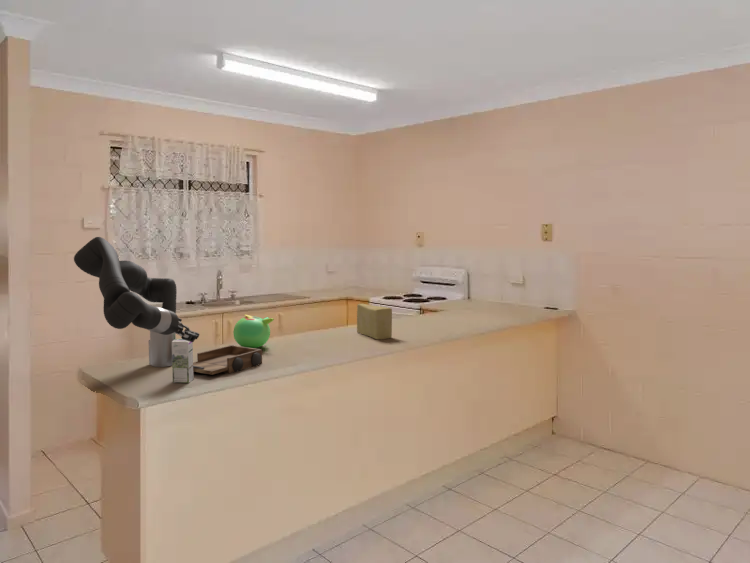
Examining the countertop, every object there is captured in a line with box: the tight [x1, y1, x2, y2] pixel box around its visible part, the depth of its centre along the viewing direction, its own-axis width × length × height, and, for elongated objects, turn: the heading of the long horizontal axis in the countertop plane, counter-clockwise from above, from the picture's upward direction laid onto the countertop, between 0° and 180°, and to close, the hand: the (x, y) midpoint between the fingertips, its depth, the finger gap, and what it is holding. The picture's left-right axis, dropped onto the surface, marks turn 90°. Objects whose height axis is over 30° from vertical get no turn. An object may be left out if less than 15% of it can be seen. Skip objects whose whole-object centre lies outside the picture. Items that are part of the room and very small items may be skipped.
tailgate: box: [193, 361, 228, 376], centre depth 209 cm, size 16×8×2 cm, turn 60°
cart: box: [196, 345, 263, 374], centre depth 220 cm, size 18×18×6 cm
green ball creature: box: [232, 314, 275, 349], centre depth 253 cm, size 18×17×15 cm
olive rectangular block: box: [356, 303, 393, 340], centre depth 284 cm, size 22×10×15 cm, turn 37°
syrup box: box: [171, 338, 194, 384], centre depth 197 cm, size 6×6×14 cm
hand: (188, 329), depth 189 cm, fingers open, 8 cm apart
